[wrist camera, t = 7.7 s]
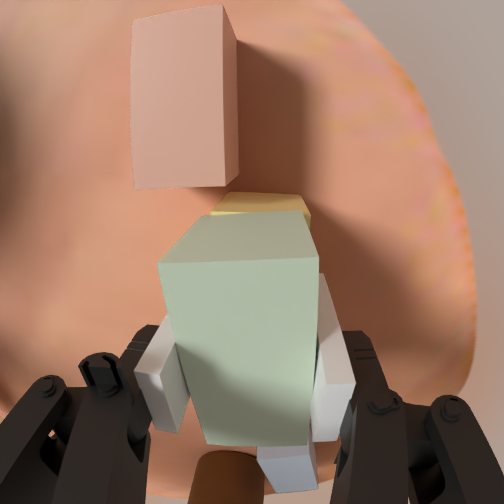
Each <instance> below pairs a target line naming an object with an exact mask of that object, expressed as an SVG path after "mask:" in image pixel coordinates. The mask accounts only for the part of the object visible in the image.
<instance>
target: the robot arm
mask: <svg viewBox="0 0 504 504" xmlns="http://www.w3.org/2000/svg"><path fill="white" fill-rule="evenodd" d="M78 367H79V369H80V371H81V374H82V376H83V378H84V380H85V382H86V384H87V386H88V387H67V386H66V384H65V383H64V381H63V379H62V378H60V377H59V376H55V375H48V376H44V377H42V378H40V379H38V380H37V381H36V382H35V383H33V385H32V386H31V387H30V388H29V389H28V391H27V392H26V393H25V394H24V395H23V397H22V398H21V399H20V400H19V401H18V403H17V404H16V405H15V406H14V408H13V409H12V410H11V411H10V413H9V414H8V415H7V416H6V418H5V419H4V420H3V422H2V423H1V424H0V504H145V498H146V484H147V472H148V461H149V451H150V442H151V438H150V433H149V431H148V428H149V426H150V423H151V421H153V424H154V426H155V428H156V430H161V431H166V432H172V433H178V432H179V429H180V426H181V423H182V419H183V416H184V413H185V410H186V407H187V404H188V401H189V398H190V392H189V389H188V385H187V382H186V379H185V376H184V372H183V369H182V365H181V362H180V358H179V355H178V351H177V347H176V344H175V340H174V336H173V332H172V328H171V324H170V320H169V316H168V313H167V315H166V316H165V318H164V320H163V321H162V323H161V325H160V326H157V325H146V326H145V327H143V328H142V329H140V330H139V331H138V332H137V333H136V334H135V336H134V337H133V339H132V342H130V343H129V345H128V346H127V349H125V351H124V352H123V354H122V356H121V357H120V359H119V358H118V357H117V356H115V355H114V354H112V353H106V352H101V353H95V354H92V355H89V356H88V357H86V358H85V359H83V360H82V361H81V362H80V364H79V365H78ZM310 412H311V426H312V440H313V442H326V441H337V439H338V436H339V433H340V435H341V442H342V445H341V447H340V450H339V452H338V454H337V457H336V459H335V462H334V464H337V465H336V472H335V478H334V484H333V490H332V494H331V500H330V504H408V497H409V501H410V504H504V475H503V472H502V470H501V468H500V466H499V464H498V461H497V459H496V457H495V455H494V453H493V451H492V449H491V447H490V445H489V443H488V441H487V439H486V437H485V435H484V433H483V431H482V429H481V427H480V425H479V424H478V422H477V420H476V418H475V416H474V414H473V412H472V411H471V409H470V407H469V406H468V404H467V403H466V402H465V401H464V400H462V399H461V398H459V397H457V396H453V395H443V396H440V397H438V398H436V400H435V401H434V402H433V403H432V405H431V406H423V405H414V404H409V403H405V402H403V400H402V398H401V397H400V396H399V395H398V394H397V393H396V392H394V391H392V390H390V389H389V387H388V384H387V382H386V379H385V376H384V374H383V371H382V368H381V366H380V363H379V360H378V359H377V355H376V353H375V351H374V348H373V345H372V343H371V340H370V338H369V337H367V336H366V335H365V334H364V333H363V332H362V331H341V328H340V324H339V321H338V318H337V314H336V311H335V308H334V305H333V301H332V298H331V295H330V292H329V289H328V286H327V282H326V279H325V276H324V273H319V289H318V318H317V339H316V356H315V370H314V383H313V395H312V401H311V406H310ZM51 430H53V431H54V432H55V434H54V435H53V436H52V437H49V436H48V435H49V433H50V432H51Z"/></svg>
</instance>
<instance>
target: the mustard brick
mask: <svg viewBox="0 0 504 504" xmlns="http://www.w3.org/2000/svg"><path fill="white" fill-rule="evenodd" d="M294 210H302V213H303V215H304V218H305V221H306V223H307V226H308V228H309V231H310V223H311V215H310V213H309V211H308V209H307V207H306V205H305V203H304V201H303V199H302V197H301V195H297V194H278V193H256V192H228V193H227V194H226V195H225V197H224V198H223V199H222V200H221V201H220V202H219V203H218V204H217V205H216V206H215V207H214V209H213V210H212V211H211V215H220V214H236V213H253V212H272V211H294Z"/></svg>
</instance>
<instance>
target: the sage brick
mask: <svg viewBox="0 0 504 504" xmlns="http://www.w3.org/2000/svg"><path fill="white" fill-rule="evenodd" d="M157 267H158V272H159V277H160V281H161V286H162V290H163V295H164V299H165V304H166V308H167V312H168V316H169V320H170V324H171V328H172V332H173V336H174V340H175V344H176V347H177V351H178V355H179V358H180V362H181V365H182V369H183V372H184V376H185V379H186V382H187V385H188V389H189V392H190V395H191V398H192V401H193V404H194V408H195V411H196V414H197V416H198V419H199V422H200V425H201V428H202V431H203V434H204V437H205V439H206V442H207V444H212V445H226V446H249V447H285V446H307V443H308V434H309V426H310V416H311V412H310V406H311V401H312V395H313V383H314V370H315V356H316V339H317V318H318V289H319V256H318V253H317V250H316V247H315V245H314V242H313V239H312V236H311V234H310V231H309V228H308V226H307V223H306V221H305V218H304V215H303V213H302V210H294V211H272V212H253V213H236V214H220V215H206V216H201V217H200V218H199V219H198V220H197V221H196V222H195V223H194V224H193V225H192V227H191V228H190V229H189V230H188V231H187V232H186V233H185V234H184V235H183V236H182V237H181V238H180V239H179V240H178V241H177V242H176V243H175V244H174V246H173V247H172V248H171V249H170V250H169V251H168V252H167V253H166V254H165V255H164V256H163V257H162V259H161V260H160V261H159V262H158V263H157Z"/></svg>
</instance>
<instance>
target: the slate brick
mask: <svg viewBox="0 0 504 504" xmlns="http://www.w3.org/2000/svg"><path fill="white" fill-rule="evenodd" d="M257 461H258V463H259V465H260V467H261V468H262V470H263V472H264V473H265V475H266V477H267V479H268V480H269V482H270V484H271V485H272V487H273V489H274V490H275V492H276V493H290V492H299V491H308V490H315V489H318V476H317V462H316V450H315V446H314V442H313V440H312V432H311V428H310V426H309V434H308V443H307V446H285V447H258V448H257Z"/></svg>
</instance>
